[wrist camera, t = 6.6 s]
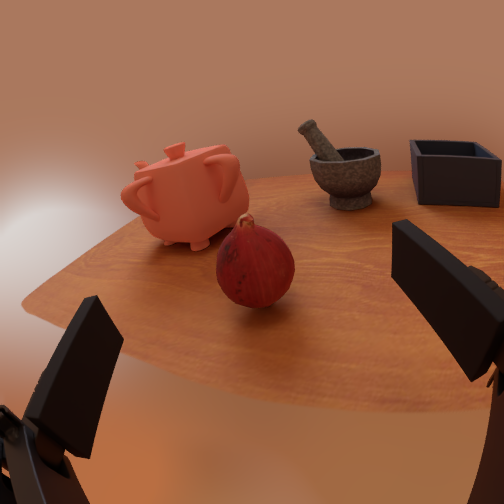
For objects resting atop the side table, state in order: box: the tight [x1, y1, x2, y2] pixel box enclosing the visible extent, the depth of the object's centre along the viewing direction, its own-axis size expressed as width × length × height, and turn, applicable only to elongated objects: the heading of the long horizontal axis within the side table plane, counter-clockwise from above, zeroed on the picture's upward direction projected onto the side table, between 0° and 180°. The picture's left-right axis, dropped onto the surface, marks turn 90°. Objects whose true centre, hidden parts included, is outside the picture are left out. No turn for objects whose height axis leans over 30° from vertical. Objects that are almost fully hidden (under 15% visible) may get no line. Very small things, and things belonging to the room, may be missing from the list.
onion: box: [216, 213, 295, 308], centre depth 21 cm, size 6×6×8 cm
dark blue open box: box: [410, 140, 502, 207], centre depth 33 cm, size 13×13×7 cm
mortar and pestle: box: [298, 120, 381, 210], centre depth 36 cm, size 11×9×12 cm
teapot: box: [121, 142, 249, 251], centre depth 38 cm, size 17×16×13 cm
